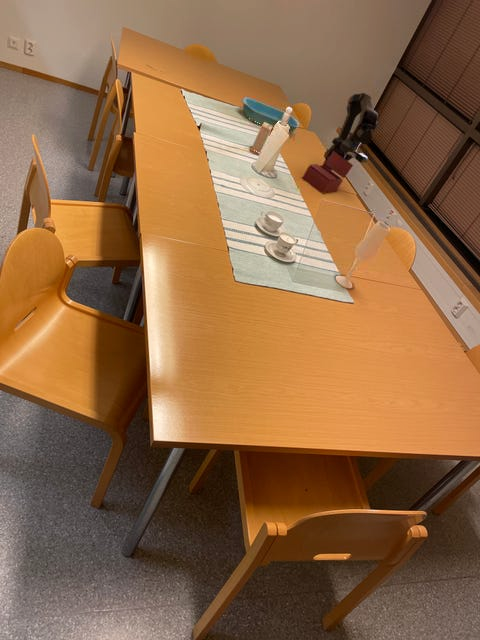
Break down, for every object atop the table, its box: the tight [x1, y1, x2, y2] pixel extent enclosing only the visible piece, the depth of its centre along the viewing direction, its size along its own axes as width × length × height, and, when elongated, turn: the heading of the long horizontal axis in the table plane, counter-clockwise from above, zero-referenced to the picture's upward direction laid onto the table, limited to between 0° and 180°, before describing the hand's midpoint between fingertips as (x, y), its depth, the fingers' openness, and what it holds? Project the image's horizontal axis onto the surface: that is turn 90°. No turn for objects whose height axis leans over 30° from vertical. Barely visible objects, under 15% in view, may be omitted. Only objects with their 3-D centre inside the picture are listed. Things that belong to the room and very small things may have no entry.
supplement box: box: [250, 122, 273, 155], centre depth 227 cm, size 8×5×13 cm, turn 168°
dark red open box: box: [302, 163, 344, 194], centre depth 232 cm, size 15×13×7 cm
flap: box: [325, 151, 354, 179], centre depth 234 cm, size 7×13×1 cm
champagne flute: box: [335, 221, 391, 289], centre depth 160 cm, size 7×7×24 cm
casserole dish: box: [241, 97, 300, 135], centre depth 273 cm, size 37×22×7 cm, turn 103°
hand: (340, 165), depth 236 cm, fingers closed
